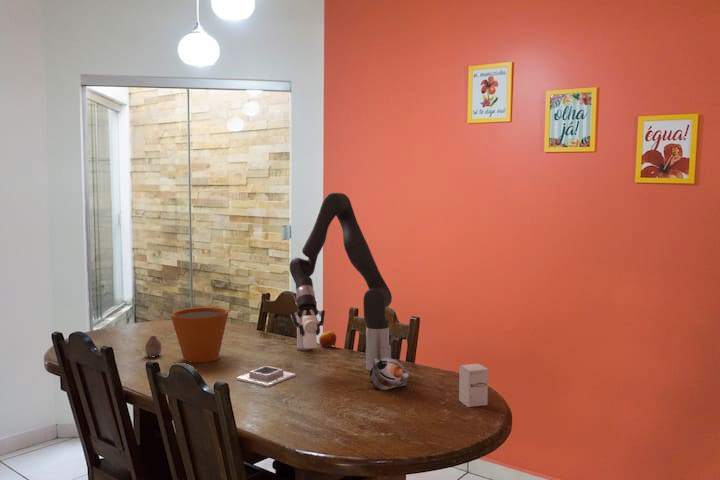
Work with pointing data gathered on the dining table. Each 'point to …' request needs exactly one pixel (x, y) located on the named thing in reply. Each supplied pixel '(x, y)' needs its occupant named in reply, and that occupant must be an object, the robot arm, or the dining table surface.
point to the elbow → (309, 331)
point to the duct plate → (266, 376)
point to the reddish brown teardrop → (153, 347)
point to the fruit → (327, 339)
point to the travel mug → (300, 337)
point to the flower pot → (200, 332)
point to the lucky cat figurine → (388, 374)
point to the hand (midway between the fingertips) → (310, 334)
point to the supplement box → (473, 385)
